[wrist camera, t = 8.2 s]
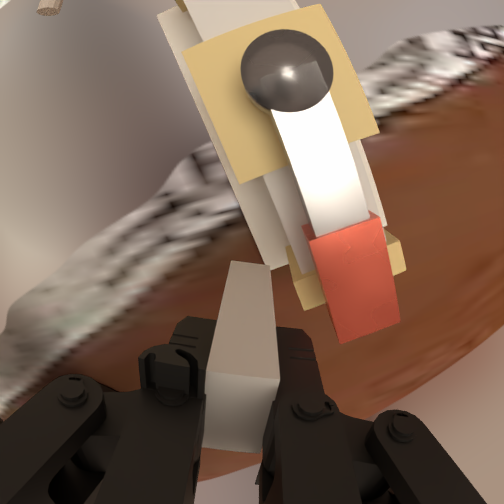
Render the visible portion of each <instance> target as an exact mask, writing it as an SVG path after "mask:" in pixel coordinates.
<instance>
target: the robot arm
mask: <svg viewBox="0 0 504 504" xmlns="http://www.w3.org/2000/svg"><path fill="white" fill-rule="evenodd" d="M138 361H139V373H140V383H141V389H138V390H135V391H131V392H116V391H114V390H112V389H110V388H108V387H106V386H104V385H101V384H99V383H97V382H96V381H95V380H93V379H92V378H90V377H87V376H84V375H81V374H69V375H64V376H60V377H58V378H57V379H55V380H53V381H52V382H50V383H49V384H48V385H47V386H46V387H44V388H43V389H42V390H41V391H40V392H38V393H37V394H36V395H35V396H34V397H32V398H31V399H30V400H29V401H28V402H26V403H25V404H24V405H23V406H22V407H21V408H19V409H18V410H17V411H16V412H15V413H13V414H12V415H11V416H10V417H9V418H8V419H6V420H5V421H3V420H2V419H1V418H0V504H194V499H195V492H196V486H197V480H198V474H199V468H200V454H201V448H202V447H206V448H213V449H220V450H228V451H237V452H248V453H260V452H261V449H262V445H263V459H262V463H261V466H260V469H259V472H258V475H257V479H256V482H255V484H258V485H259V504H487V503H486V502H485V501H484V499H483V498H482V497H481V496H480V494H479V493H478V492H477V490H476V489H475V488H474V487H473V485H472V484H471V483H470V482H469V480H468V479H467V477H466V476H465V475H464V474H463V472H462V471H461V470H460V468H459V467H458V466H457V465H456V463H455V462H454V461H453V460H452V458H451V457H450V456H449V455H448V453H447V452H446V451H445V450H444V448H443V447H442V446H441V444H440V443H439V442H438V441H437V439H436V438H435V437H434V436H433V434H432V433H431V432H430V431H429V429H428V428H427V427H426V426H425V424H424V423H423V422H422V421H420V419H418V418H417V417H416V416H415V415H413V414H410V413H408V412H407V411H401V410H387V411H385V412H383V413H381V414H379V415H378V417H377V418H376V420H375V421H374V422H371V421H367V420H362V419H358V418H353V417H350V416H347V415H345V414H343V413H341V412H339V409H338V407H337V405H336V403H335V402H334V401H333V400H332V399H331V398H330V397H328V396H327V395H325V393H324V389H323V385H322V381H321V377H320V373H319V369H318V365H317V361H316V357H315V353H314V349H313V345H312V341H311V338H310V337H309V336H308V335H307V334H306V333H305V332H304V331H303V330H302V329H294V328H285V327H276V325H275V314H274V303H273V292H272V282H271V271H270V265H263V264H255V263H247V262H240V261H232V260H231V264H230V268H229V272H228V276H227V281H226V285H225V289H224V293H223V298H222V302H221V306H220V311H219V315H218V320H211V319H204V318H197V317H191V316H187V317H186V318H184V319H183V320H181V321H180V322H179V323H177V325H176V328H175V330H174V332H173V336H172V337H171V339H170V342H169V344H163V345H158V346H153V347H151V348H149V349H147V350H145V351H144V352H143V353H142V354H141V355H140V356H139V357H138Z"/></svg>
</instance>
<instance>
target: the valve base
mask: <svg viewBox="0 0 504 504" xmlns="http://www.w3.org/2000/svg"><path fill="white" fill-rule="evenodd" d="M175 1H176V3H177V4H178V6H175V7H174V8H171V9H169V10H167V11H165V12H163V13H161V14H159V15H157V18H158V20H159V22H160V24H161V27H162V29H163V31H164V33H165V36H166V38H167V40H168V43H169V45H170V47H171V49H172V51H173V54H174V56H175V58H176V61H177V63H178V65H179V67H180V70H181V72H182V74H183V76H184V79H185V81H186V83H187V86H188V88H189V90H190V92H191V94H192V97H193V99H194V101H195V104H196V106H197V108H198V110H199V113H200V115H201V117H202V120H203V122H204V124H205V126H206V128H207V131H208V133H209V135H210V138H211V140H212V143H213V145H214V147H215V149H216V152H217V154H218V156H219V159H220V161H221V163H222V166H223V168H224V170H225V173H226V175H227V177H228V179H229V182H230V184H231V186H232V189H233V191H234V193H235V196H236V198H237V200H238V203H239V205H240V207H241V210H242V212H243V214H244V216H245V219H246V221H247V223H248V226H249V228H250V230H251V233H252V235H253V237H254V240H255V242H256V244H257V247H258V249H259V251H260V254H261V256H262V258H263V261H264V263H265V265H270V270H273V269H276V268H278V267H281V266H284V265H286V264H289V266H290V271H291V275H292V280H293V284H294V286H295V289H296V291H297V294H298V296H299V299H300V301H301V304H302V306H303V309H304V311H305V310H308V309H311V308H313V307H316V306H319V305H321V304H324V303H326V302H325V299H324V296H323V292H322V289H321V286H320V283H319V280H318V276H317V273H316V270H315V267H314V264H313V261H312V258H311V254H310V251H309V248H308V245H307V242H306V239H305V236H304V233H303V230H302V227H301V226H302V225H305V224H308V221H307V218H306V215H305V212H304V209H303V206H302V203H301V200H300V197H299V194H298V191H297V188H296V186H295V183H294V180H293V177H292V174H291V172H290V169H289V166H288V163H287V161H286V158H285V155H284V152H283V150H282V147H281V144H280V142H279V139H278V136H277V134H276V131H275V129H274V126H273V123H272V121H271V118H270V116H269V115H268V114H266V113H264V112H262V111H261V110H259V109H258V108H257V107H256V106H254V104H253V103H252V102H251V101H250V99H249V98H248V96H247V94H246V91H245V88H244V85H243V81H242V78H241V69H240V67H241V60H242V57H243V54H244V52H245V50H246V49H247V47H248V46H249V45H250V43H251V42H252V41H254V40H255V39H256V38H257V37H259V36H260V35H262V34H264V33H267V32H270V31H273V30H279V29H290V30H296V31H300V32H303V33H305V34H307V35H309V36H311V37H313V38H314V39H316V40H317V41H318V42H319V43H320V44H321V45H322V46H323V47H324V48H325V49H326V51H327V52H328V54H329V56H330V58H331V61H332V65H333V72H334V74H333V82H332V85H331V88H330V90H329V93H330V95H331V98H332V101H333V103H334V106H335V109H336V111H337V114H338V117H339V119H340V122H341V125H342V128H343V131H344V133H345V136H346V139H347V142H348V145H349V148H350V151H351V154H352V157H353V160H354V164H355V167H356V170H357V173H358V177H359V180H360V183H361V187H362V190H363V194H364V197H365V201H366V204H367V208H368V210H370V211H371V212H373V213H375V214H376V215H378V216H379V217H380V219H381V223H382V227H384V226H386V225H387V223H386V219H385V215H384V212H383V208H382V205H381V202H380V198H379V195H378V192H377V188H376V185H375V182H374V179H373V176H372V173H371V170H370V167H369V164H368V161H367V158H366V155H365V152H364V149H363V147H362V144H361V141H360V139H362V138H365V137H368V136H371V135H374V134H377V133H380V132H379V129H378V127H377V124H376V121H375V119H374V116H373V113H372V111H371V108H370V106H369V103H368V101H367V98H366V96H365V94H364V91H363V89H362V86H361V84H360V82H359V79H358V77H357V75H356V73H355V70H354V68H353V66H352V64H351V62H350V60H349V58H348V56H347V53H346V51H345V49H344V48H343V45H342V43H341V41H340V39H339V37H338V35H337V33H336V31H335V29H334V27H333V26H332V24H331V22H330V20H329V18H328V16H327V15H326V13H325V11H324V9H323V7H322V6H321V4H317V5H313V6H309V7H304V8H301V9H300V8H299V6H298V4H297V3H296V1H295V0H175ZM383 232H384V236H385V240H386V245H387V249H388V254H389V259H390V264H391V269H392V274H393V276H394V275H396V274H399V273H401V272H403V271H406V266H405V262H404V257H403V253H402V248H401V244H400V240H398V239H397V238H396V237H394V236H393V235H391V234H390V233H389V232H387V231H386V230H385V229H383Z"/></svg>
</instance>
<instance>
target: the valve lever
mask: <svg viewBox="0 0 504 504" xmlns="http://www.w3.org/2000/svg"><path fill="white" fill-rule="evenodd" d="M240 69H241V78H242V81H243V85H244V88H245V91H246V94H247V96H248V98H249V99H250V101H251V102H252V103H253V104H254V106H256V107H257V108H258V109H259V110H261V111H262V112H264V113H266V114H268V115H269V116H270V118H271V121H272V123H273V126H274V129H275V131H276V134H277V136H278V139H279V142H280V144H281V147H282V150H283V152H284V155H285V158H286V161H287V163H288V166H289V169H290V172H291V174H292V177H293V180H294V183H295V186H296V188H297V191H298V194H299V197H300V200H301V203H302V206H303V209H304V212H305V215H306V218H307V221H308V224H305V225H302V226H301V227H302V230H303V233H304V236H305V239H306V242H307V245H308V248H309V251H310V254H311V258H312V261H313V264H314V267H315V270H316V273H317V276H318V280H319V283H320V286H321V289H322V292H323V296H324V299H325V302H326V305H327V309H328V312H329V316H330V318H331V321H332V324H333V327H334V329H335V332H336V335H337V338H338V340H339V343H340V344H342V343H345V342H348V341H351V340H354V339H356V338H359V337H362V336H365V335H367V334H370V333H373V332H375V331H378V330H381V329H383V328H386V327H388V326H391V325H393V324H396V323H398V322H401V321H400V315H399V308H398V302H397V296H396V290H395V284H394V279H393V274H392V269H391V264H390V259H389V254H388V249H387V245H386V240H385V236H384V232H383V227H382V223H381V219H380V217H379V216H378V215H376V214H375V213H373V212H371V211H370V210H368V208H367V204H366V201H365V197H364V194H363V190H362V187H361V183H360V180H359V177H358V173H357V170H356V167H355V164H354V160H353V157H352V154H351V151H350V148H349V145H348V142H347V139H346V136H345V133H344V131H343V128H342V125H341V122H340V119H339V117H338V114H337V111H336V109H335V106H334V103H333V101H332V98H331V95H330V93H329V90H330V88H331V85H332V82H333V74H334V72H333V65H332V61H331V58H330V56H329V54H328V52H327V51H326V49H325V48H324V47H323V46H322V45H321V44H320V43H319V42H318V41H317V40H316V39H314V38H313V37H311V36H309V35H307V34H305V33H303V32H300V31H296V30H290V29H279V30H273V31H270V32H267V33H264V34H262V35H260V36H259V37H257V38H256V39H255V40H254V41H252V42H251V43H250V45H249V46H248V47H247V49H246V50H245V52H244V54H243V57H242V60H241V67H240Z"/></svg>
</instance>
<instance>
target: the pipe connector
mask: <svg viewBox="0 0 504 504" xmlns="http://www.w3.org/2000/svg"><path fill="white" fill-rule="evenodd" d="M62 3H63V0H41V1H40V4H39V7H38V9H37V13H38V14H40V15H44V16H45V15H46V16H51V15H56V14H59V12H60V9H61V6H62Z"/></svg>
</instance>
